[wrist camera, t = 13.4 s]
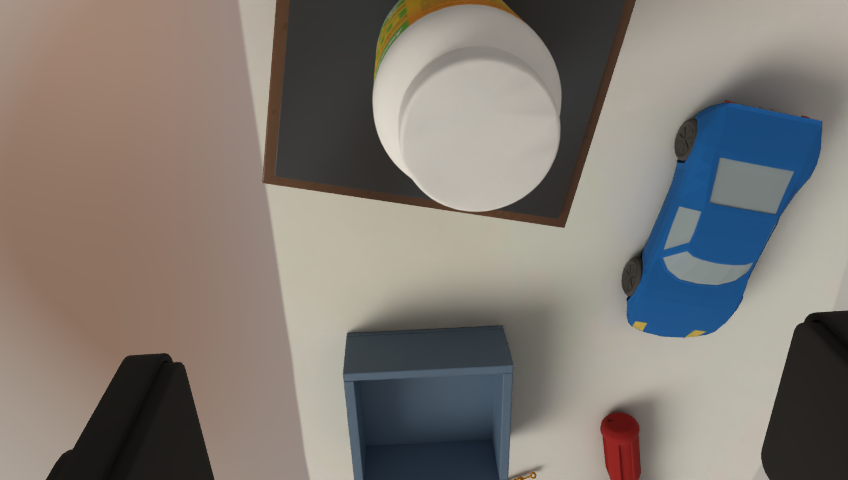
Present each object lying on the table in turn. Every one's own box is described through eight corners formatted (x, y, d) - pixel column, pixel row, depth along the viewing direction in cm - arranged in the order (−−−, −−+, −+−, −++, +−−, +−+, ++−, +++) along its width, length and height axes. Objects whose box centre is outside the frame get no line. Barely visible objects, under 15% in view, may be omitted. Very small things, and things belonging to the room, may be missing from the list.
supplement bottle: (379, -30, 23) (375, 15, 15) (530, -17, 24) (612, 34, 15) (372, 119, 26) (364, 232, 17) (508, 128, 26) (567, 243, 17)
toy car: (603, 314, 57) (621, 349, 53) (692, 85, 48) (723, 104, 44) (702, 329, 59) (728, 364, 54) (808, 108, 49) (849, 129, 45)
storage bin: (346, 333, 57) (342, 374, 52) (502, 325, 57) (513, 365, 52) (358, 448, 63) (355, 494, 58) (498, 441, 64) (507, 486, 59)
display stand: (314, 63, 46) (260, 186, 27) (337, -148, 40) (289, -188, 21) (494, 94, 48) (566, 231, 28) (541, -104, 42) (672, -103, 22)
